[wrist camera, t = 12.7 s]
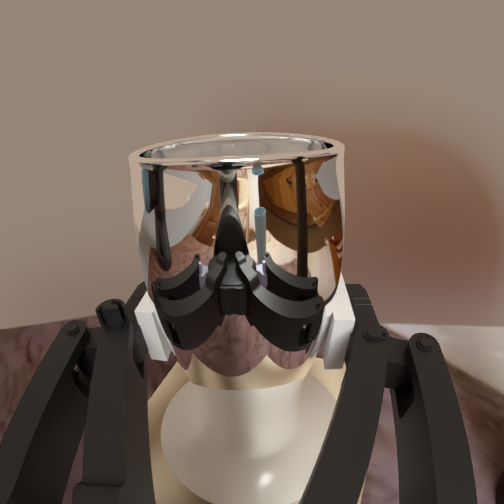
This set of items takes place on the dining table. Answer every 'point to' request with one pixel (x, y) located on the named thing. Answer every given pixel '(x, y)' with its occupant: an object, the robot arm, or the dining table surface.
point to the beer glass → (242, 271)
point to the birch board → (164, 481)
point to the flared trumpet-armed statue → (500, 491)
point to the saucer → (238, 469)
